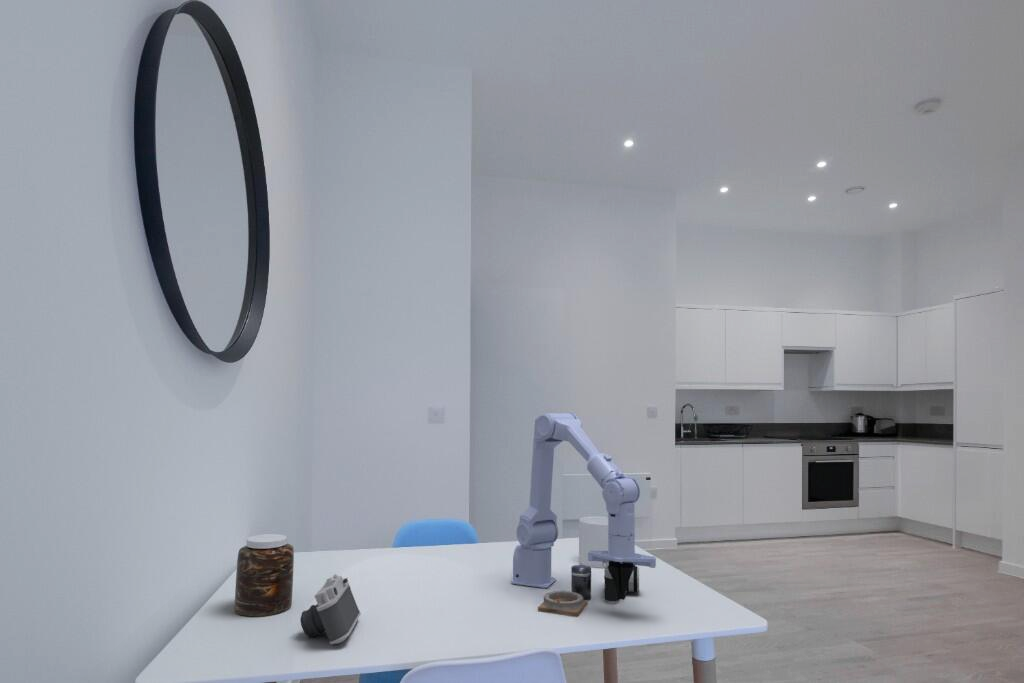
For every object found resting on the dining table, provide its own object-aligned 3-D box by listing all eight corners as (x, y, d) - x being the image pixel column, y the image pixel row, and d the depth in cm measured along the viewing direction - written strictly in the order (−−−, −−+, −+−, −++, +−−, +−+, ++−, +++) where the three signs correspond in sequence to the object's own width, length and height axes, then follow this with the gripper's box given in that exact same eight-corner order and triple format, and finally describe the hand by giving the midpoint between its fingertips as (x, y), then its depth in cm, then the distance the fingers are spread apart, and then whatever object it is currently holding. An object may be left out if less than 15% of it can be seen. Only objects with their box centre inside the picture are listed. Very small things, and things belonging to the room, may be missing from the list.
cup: (579, 556, 182) (579, 515, 183) (619, 558, 180) (619, 517, 181) (578, 567, 170) (578, 523, 171) (620, 569, 169) (620, 524, 170)
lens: (568, 600, 142) (568, 568, 142) (574, 594, 146) (574, 563, 147) (588, 602, 140) (588, 570, 141) (593, 596, 144) (593, 565, 145)
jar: (296, 598, 140) (299, 531, 142) (286, 616, 129) (289, 543, 130) (241, 600, 138) (245, 532, 140) (227, 618, 127) (231, 544, 128)
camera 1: (365, 612, 128) (347, 566, 129) (352, 638, 112) (331, 585, 113) (323, 632, 127) (305, 585, 128) (303, 661, 111) (283, 607, 112)
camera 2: (639, 606, 138) (638, 561, 139) (600, 603, 140) (600, 558, 141) (639, 586, 153) (638, 545, 154) (604, 583, 155) (604, 543, 156)
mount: (537, 611, 134) (537, 599, 134) (550, 599, 142) (550, 587, 142) (577, 616, 131) (577, 604, 131) (587, 604, 139) (587, 592, 139)
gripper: (584, 534, 133) (584, 599, 131) (652, 540, 127) (653, 608, 126) (592, 528, 139) (592, 590, 138) (656, 534, 134) (657, 598, 133)
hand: (621, 598), depth 132 cm, fingers closed
